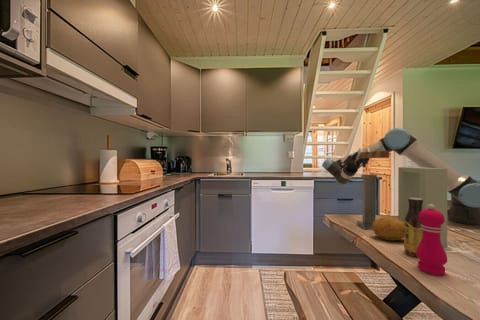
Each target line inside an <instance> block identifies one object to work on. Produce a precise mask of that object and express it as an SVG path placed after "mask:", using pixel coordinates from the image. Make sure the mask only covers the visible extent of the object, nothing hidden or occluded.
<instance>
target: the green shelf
mask: <svg viewBox="0 0 480 320" xmlns="http://www.w3.org/2000/svg"><path fill="white" fill-rule="evenodd" d="M397 170H398V173H397V174H398V177H397V179H398V182H397V184H398V187H397V188H398V191H397V192H398V194H397V195H398V196H397V197H398V199H397V201H398V202H397V203H398V204H397V207H398V208H397V211H398V213H397V215H398V217H397V220H401V221H403V222H404V219H405V217H406V215H407V213H408V210H409V202H408V198H421V199H423V204H422V210H424V209H428V205H429V204H433V205H434V206H435V209H434V210H437V211H439V212H441V213H442V214H443V215H444V218H445V222H444V223H443V224H442V225H441V227H442V232H441V233H440V240H441V244H442V246H443V247H448V219H447V214H448V191H447V169H444V168H421V167H420V166H417V167H416V166H414V167H412V166H405V167H404V166H403V167H401V166H399V167H398V169H397Z"/></svg>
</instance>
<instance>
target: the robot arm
mask: <svg viewBox="0 0 480 320" xmlns="http://www.w3.org/2000/svg"><path fill="white" fill-rule="evenodd" d="M373 151H389V153H390V152H391V153H392V152H395V153H396V154H398V155H399V156H405V157H406V158H408V159H409V160H410V161H411V162H413V163H414V164H415V165H417V167H421V168H444V169H447V193H449V194H450V206H449V209H448V210H447V221H450V222H453V223H458V224H463V225H471V226H472V225H473V226H480V179H477V178H476V179H475V178H472V176H470V175H469V174H468V175H467V174H464V175H463V174H461V173H460V172H458V171H457V170H456V169H454V168H453V167H451V166H450V165H448V164H447V163H446V162H445V161H443V160H441V159H440V158H439V157H437V156H435V154H433V153H432V152H430V151H428V150H427V149H426V148H424V147H423V146H422V145H420V144H419V141H418V139H417V138H416V137H414V136H413V135H411V134H410V133H409V132H408V131H407V130H406V129H404V128H401V127H395V128H392V129H389V130H388V131H387V132H386V133H385V135H384V137H382V138H380V139H379V140H378V142H375V143H372V144H370V145H368V146H367V147H364V148H362V147H359V148H358V150H357V151H355V152H353V153H351V154H349V155H346V156H344V157H342V158H339V159H338V160H333V159H332V158H330V157H328V158H326V159H325V160H324V161H323V162H322V164H321V166H322V168H323V169H324V170H326V172H328V173H329V174H330V175H331V176H333V177H334V178H335V182H336V184H337V185H339V186H343V187H344V186H346V185H347V184H348V183H349V182H350V181H351V180H352V178H353V177H354V176H355V175H356V174H357V173H358V171H359V169H360V168H361V167H363V168H366V167H367V166H366V165H367V164H368V162H370V159H371V158H358V157H359V156H360V155H361V153H362V152H373Z"/></svg>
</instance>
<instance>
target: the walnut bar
mask: <svg viewBox="0 0 480 320" xmlns="http://www.w3.org/2000/svg"><path fill="white" fill-rule="evenodd" d="M358 158H370V159H384V158H385V159H390V152H389V151H373V152H362V153H361V155H360V156H359V157H358Z"/></svg>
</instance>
